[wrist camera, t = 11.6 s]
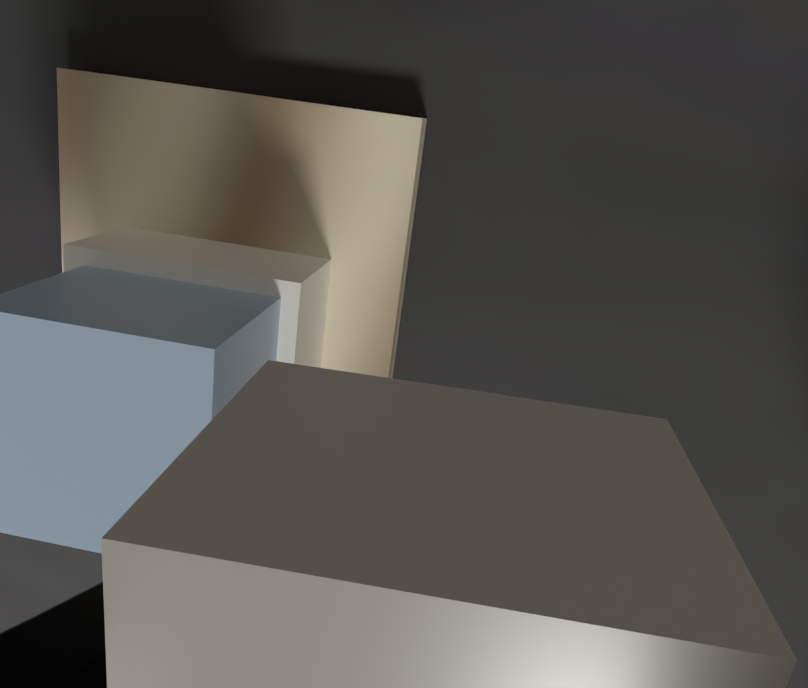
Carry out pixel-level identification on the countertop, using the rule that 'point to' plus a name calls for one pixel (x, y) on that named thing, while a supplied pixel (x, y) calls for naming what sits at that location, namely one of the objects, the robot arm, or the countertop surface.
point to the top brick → (429, 549)
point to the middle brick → (113, 390)
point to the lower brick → (223, 277)
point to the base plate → (252, 187)
